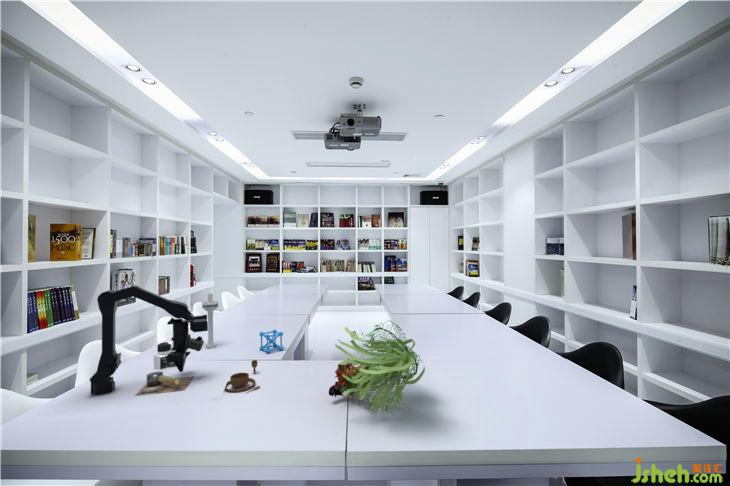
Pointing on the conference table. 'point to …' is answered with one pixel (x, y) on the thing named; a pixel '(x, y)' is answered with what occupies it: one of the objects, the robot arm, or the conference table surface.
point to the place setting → (242, 381)
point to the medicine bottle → (163, 356)
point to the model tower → (210, 319)
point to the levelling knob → (160, 379)
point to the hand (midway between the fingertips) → (181, 371)
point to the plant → (377, 369)
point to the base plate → (166, 387)
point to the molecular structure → (271, 341)
